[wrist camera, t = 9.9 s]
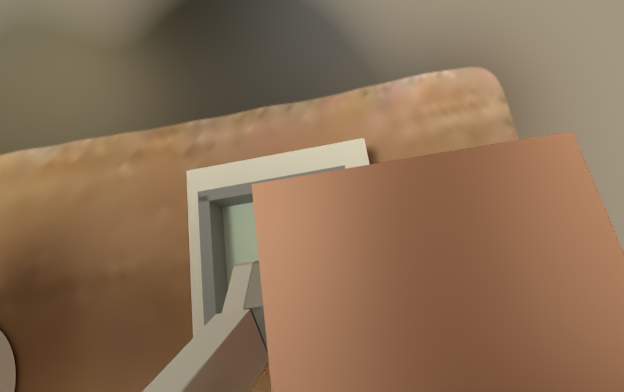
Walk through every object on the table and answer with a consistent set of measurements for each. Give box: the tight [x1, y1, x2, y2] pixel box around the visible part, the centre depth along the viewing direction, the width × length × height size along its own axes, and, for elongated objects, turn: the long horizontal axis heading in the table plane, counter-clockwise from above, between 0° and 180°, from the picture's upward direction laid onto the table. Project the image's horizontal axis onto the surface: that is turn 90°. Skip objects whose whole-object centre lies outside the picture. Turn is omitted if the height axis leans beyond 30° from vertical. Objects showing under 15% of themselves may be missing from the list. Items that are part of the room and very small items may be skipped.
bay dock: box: [186, 138, 370, 338], centre depth 27 cm, size 18×18×7 cm
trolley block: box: [252, 131, 624, 392], centre depth 9 cm, size 5×4×10 cm
